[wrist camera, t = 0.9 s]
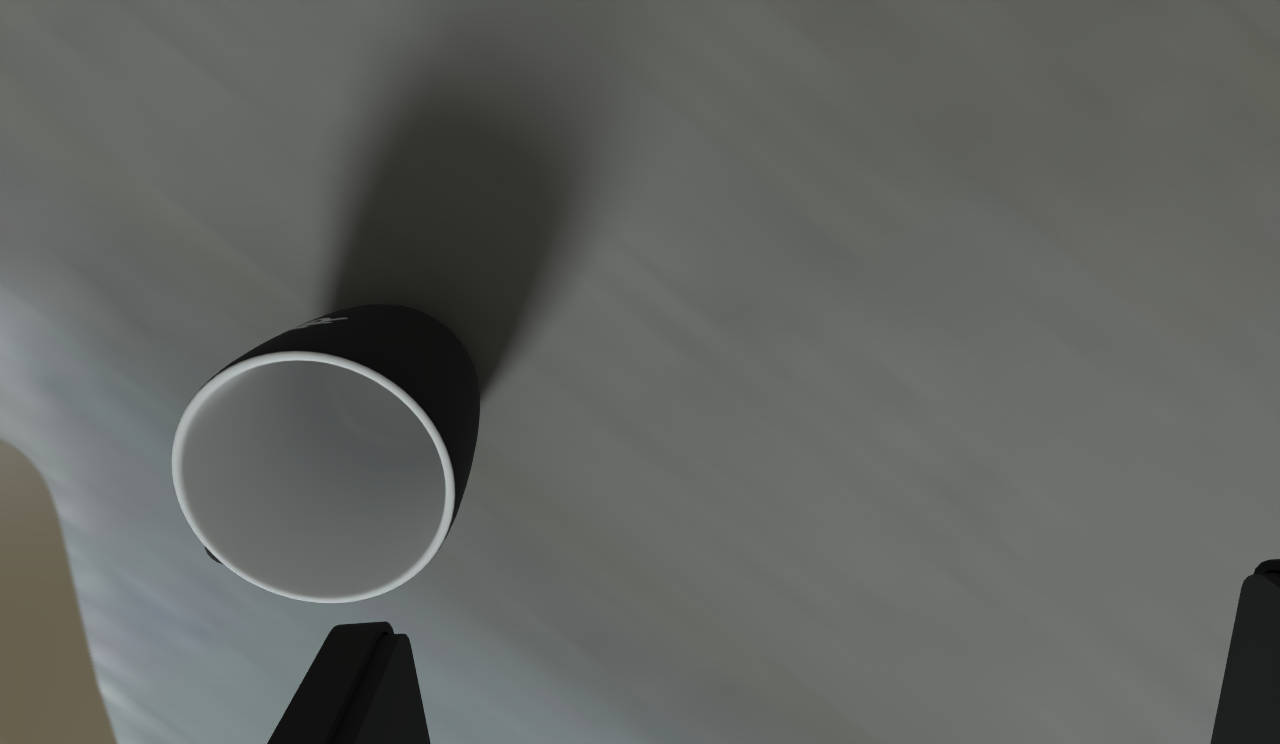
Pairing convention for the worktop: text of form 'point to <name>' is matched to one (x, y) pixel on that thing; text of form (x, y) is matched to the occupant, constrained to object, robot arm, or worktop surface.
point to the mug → (332, 454)
